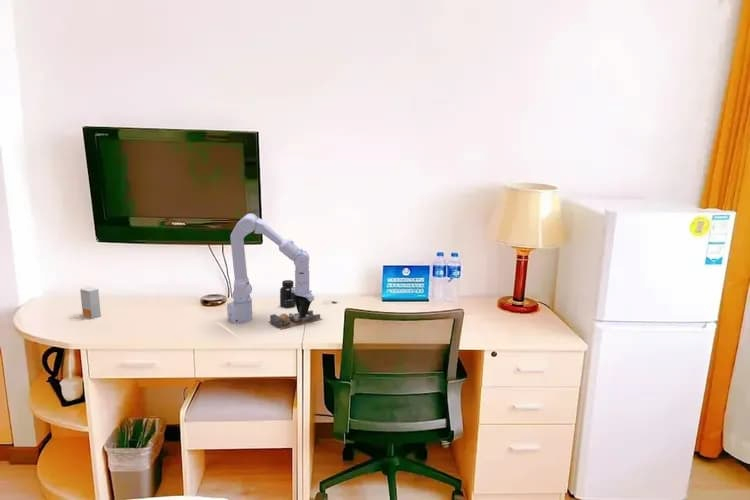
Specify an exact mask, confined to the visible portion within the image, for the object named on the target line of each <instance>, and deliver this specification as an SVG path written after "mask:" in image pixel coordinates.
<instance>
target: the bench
mask: <svg viewBox="0 0 750 500" xmlns="http://www.w3.org/2000/svg"><path fill="white" fill-rule="evenodd" d="M298 314H299V313H298V312H297V313H294V314H293V315H298ZM307 315H309V316H308V317H304V318H301V321H297V322H293V321H291V320H288V322H285V323H283V324H282V318H280V317H279V316H280V315H277V314H275V313H274V314H270V315H269V321H267V323H268V324H271V325H272V326H274V327H276V328H277V329H279V330H280V331H282V330H286V329H291V328H294V327H299V326H303V325H307V324H311V323H315V322H320V321H323V320H324V319H323V318H321V314H320V313H317V314H314V310H313V309H312V310H308V313H307Z"/></svg>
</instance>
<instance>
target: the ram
mask: <svg viewBox="0 0 750 500" xmlns="http://www.w3.org/2000/svg"><path fill="white" fill-rule="evenodd" d="M308 316H309V315H307V314H306V315H302V311H301V305H299V314H298V315H294V314H293V313H291V312H290V313H288V317H289V320H291V321H293V322H297V321H301V318H304V317H308Z"/></svg>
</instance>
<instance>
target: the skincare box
mask: <svg viewBox="0 0 750 500" xmlns="http://www.w3.org/2000/svg"><path fill="white" fill-rule="evenodd" d="M79 292H80V300H81V302H80V303H81V310H82V316H83V317H84V318H89V319H92V320H93V319H97V318H101V316H102V313H101V312H102V311H101V303H100V302H101V301H100V295H99V294H100V293H99V288H96V287H94V286H93V287H92V286H86V287H84V288H80V290H79Z"/></svg>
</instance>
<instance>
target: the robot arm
mask: <svg viewBox="0 0 750 500" xmlns="http://www.w3.org/2000/svg"><path fill="white" fill-rule="evenodd" d="M252 232H253V233H254V234H256V235H257V234H260V235H264V237H266V238H268V239H269V240H270V241H272V242H273V243H274V244H275V245H277V246H278V252H279V251H280V253H282V254H283V255H284V256H285V257H287V258H288V259H289V260H291V261H293V264H294V266H295V267H294V269H295V270H294V284H295V285H294V286H293V288H291V292H292V293H295V295H294V296H292V298H293V299H294V301H295V304H296V306H295V307H296V310H297V313H299V305H301V311H302V315H306V314H307V313H308V311H309V309H310V305H311V304H312V302H313V301H315V296H314V295H313V294H312V292H313V291H312V290H311V289H310V266H309V264H310V255H309V253H308V252H307V250H304V249H303V248H300V247H299V246H297V245H296V244H295V241H294V240H292V239H291V240H290V239H288V238H287V239H286V238H285V239H284V238H283V237H282V236H281V235H280V234H278V232H276V231H275V230H274V229H273V228H272V227H271V226H269V225H268V223H267V222H265V221H264V220H263V219H262V218H260V217H258V216H257V215H256V214H255V213H251V212H250V213H247V214H245V215H244V216H243V217H242V218H241V219H239V221H237V223H236V225H235V226H234V228H233V230H232V232H231V233H230V236H229V237H230V246H231V255H232V256H231V257H232V266H233V275H234V282H233V291H232V294H231V295H232V299H233V301H231V302H228V303H227V307H226V308H227V309H226V310H227V311H226V312H227V320H228V322H230V323H232V324H233V325H234V324H235V325H236V324H240V323H247V322H251V321H252V320H253V306H252V305H253V301H252V300H253V299H252V296H251V294H252V291H253V287H252V285H251V283H250V281H249V280H250V278H249V277H248V272H247V271H248V270H247V260H246V251H245V242H244V239H245V237H246V236H248V235H249V234H251V233H252Z"/></svg>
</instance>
